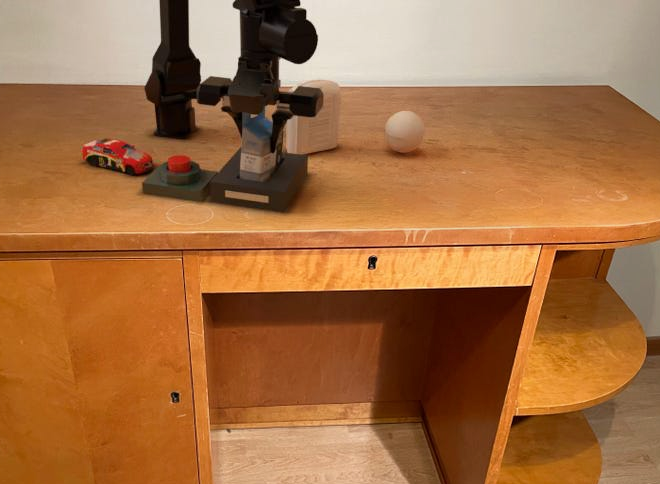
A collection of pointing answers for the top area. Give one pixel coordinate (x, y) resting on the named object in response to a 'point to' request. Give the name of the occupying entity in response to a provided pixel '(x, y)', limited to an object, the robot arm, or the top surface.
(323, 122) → the cream rounded slab
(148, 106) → the top surface
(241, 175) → the tape cartridge
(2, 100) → the top surface
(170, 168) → the button
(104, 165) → the race car
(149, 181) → the button box
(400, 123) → the seamed sphere
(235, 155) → the dark grey rectangular frame
